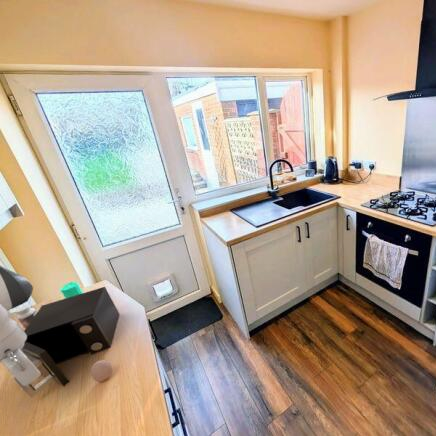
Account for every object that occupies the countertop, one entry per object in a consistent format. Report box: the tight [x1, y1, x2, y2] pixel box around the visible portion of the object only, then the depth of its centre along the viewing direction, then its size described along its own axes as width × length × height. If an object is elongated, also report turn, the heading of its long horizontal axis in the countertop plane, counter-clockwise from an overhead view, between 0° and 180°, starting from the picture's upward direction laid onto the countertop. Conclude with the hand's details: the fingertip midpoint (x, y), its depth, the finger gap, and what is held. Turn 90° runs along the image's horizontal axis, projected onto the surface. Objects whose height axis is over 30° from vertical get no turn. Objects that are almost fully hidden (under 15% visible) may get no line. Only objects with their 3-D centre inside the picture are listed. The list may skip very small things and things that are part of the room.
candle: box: [59, 281, 84, 299], centre depth 109 cm, size 6×6×12 cm
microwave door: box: [12, 342, 70, 398], centre depth 74 cm, size 7×14×15 cm, turn 69°
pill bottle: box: [15, 304, 38, 330], centre depth 100 cm, size 5×5×10 cm
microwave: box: [23, 286, 121, 366], centre depth 89 cm, size 18×20×15 cm
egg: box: [90, 359, 113, 382], centre depth 77 cm, size 5×5×7 cm
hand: (29, 375), depth 70 cm, fingers open, 4 cm apart
